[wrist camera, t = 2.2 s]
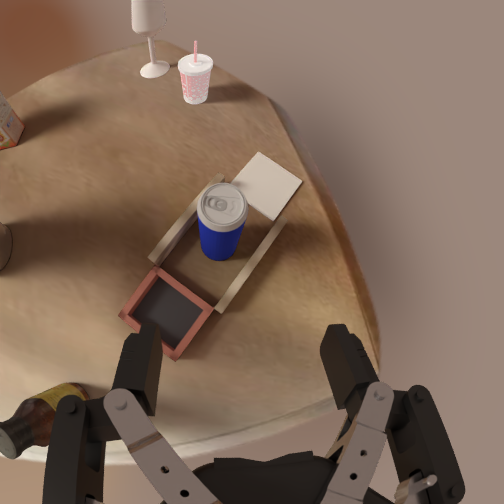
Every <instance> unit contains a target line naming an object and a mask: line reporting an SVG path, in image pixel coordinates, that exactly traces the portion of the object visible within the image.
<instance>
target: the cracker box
mask: <svg viewBox="0 0 504 504" xmlns="http://www.w3.org/2000/svg"><path fill="white" fill-rule="evenodd" d="M24 127H25V126H24V124H23V123H22V122H21V120H20V119H19V117H18V116H17V115H16V113H15V112H14V110H13V109H12V108H11V106H10V105H9V103H8V102H7V100H6V99H5V97H4V96H3V94H2V93H1V91H0V150H1V149H5V148H9V147H13V146H16V145H17V143H18V140H19V138H20V136H21V134H22V131H23V129H24Z"/></svg>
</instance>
